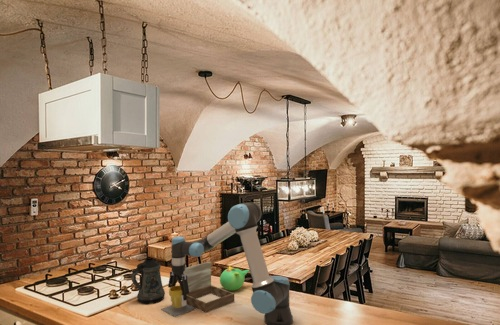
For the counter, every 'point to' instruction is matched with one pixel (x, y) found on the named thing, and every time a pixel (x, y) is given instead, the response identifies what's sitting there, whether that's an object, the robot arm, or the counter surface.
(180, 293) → the plant pot
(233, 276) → the toy bird
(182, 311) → the slate pad
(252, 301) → the robot arm
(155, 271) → the beer stein
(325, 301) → the counter surface
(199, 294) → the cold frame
